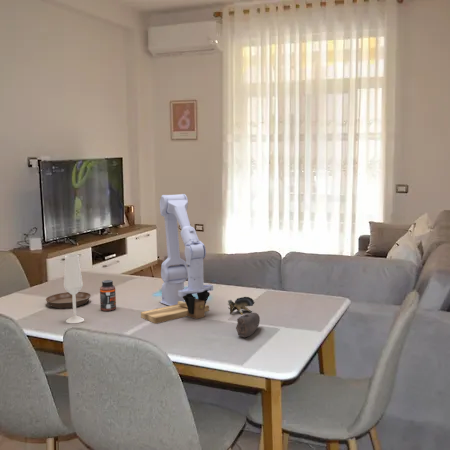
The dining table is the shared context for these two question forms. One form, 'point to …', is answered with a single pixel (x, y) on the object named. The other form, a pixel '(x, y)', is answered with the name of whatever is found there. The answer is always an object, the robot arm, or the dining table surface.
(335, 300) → the dining table surface
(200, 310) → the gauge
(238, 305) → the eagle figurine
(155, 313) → the board
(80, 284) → the champagne flute
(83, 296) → the plant saucer
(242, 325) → the perforated stone tool
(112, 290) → the supplement bottle
